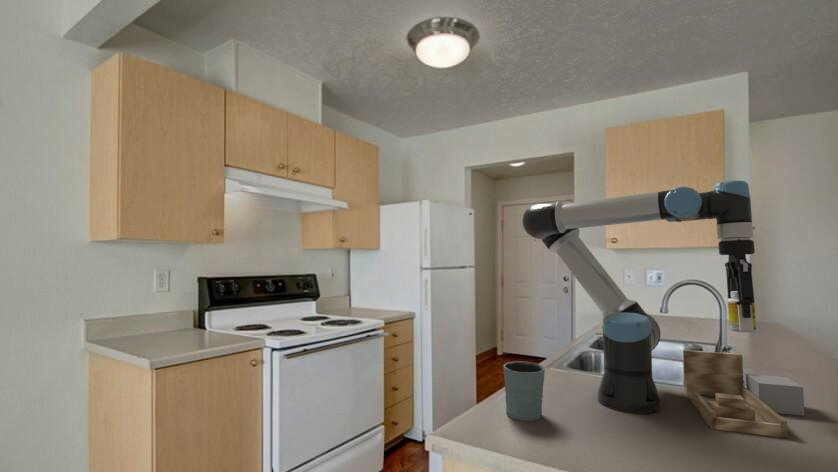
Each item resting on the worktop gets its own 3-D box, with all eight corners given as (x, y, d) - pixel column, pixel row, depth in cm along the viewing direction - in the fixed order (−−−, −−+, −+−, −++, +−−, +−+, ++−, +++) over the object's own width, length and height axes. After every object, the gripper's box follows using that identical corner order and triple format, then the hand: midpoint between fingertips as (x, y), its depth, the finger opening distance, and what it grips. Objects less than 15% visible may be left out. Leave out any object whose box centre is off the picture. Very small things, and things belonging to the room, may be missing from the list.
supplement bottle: (744, 333, 106) (740, 292, 107) (724, 330, 111) (721, 291, 112) (762, 332, 107) (759, 291, 108) (741, 328, 112) (738, 290, 113)
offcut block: (718, 405, 98) (718, 397, 98) (715, 401, 101) (715, 392, 101) (745, 408, 96) (744, 399, 96) (741, 404, 99) (740, 395, 99)
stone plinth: (759, 411, 107) (758, 383, 107) (746, 399, 115) (745, 373, 115) (804, 415, 103) (803, 387, 104) (787, 403, 112) (786, 377, 112)
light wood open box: (711, 428, 96) (709, 375, 97) (684, 391, 122) (682, 349, 123) (787, 438, 91) (785, 381, 92) (742, 397, 117) (740, 353, 117)
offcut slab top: (717, 418, 97) (716, 407, 97) (709, 411, 101) (708, 400, 101) (755, 421, 95) (754, 409, 95) (745, 414, 99) (745, 403, 100)
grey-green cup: (518, 404, 112) (517, 359, 113) (553, 414, 105) (552, 366, 106) (496, 414, 105) (495, 366, 106) (532, 426, 98) (531, 374, 98)
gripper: (765, 237, 101) (774, 335, 99) (742, 240, 118) (749, 323, 116) (728, 239, 104) (735, 334, 102) (710, 241, 121) (716, 323, 119)
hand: (742, 328), depth 109 cm, fingers closed on supplement bottle, 6 cm apart
